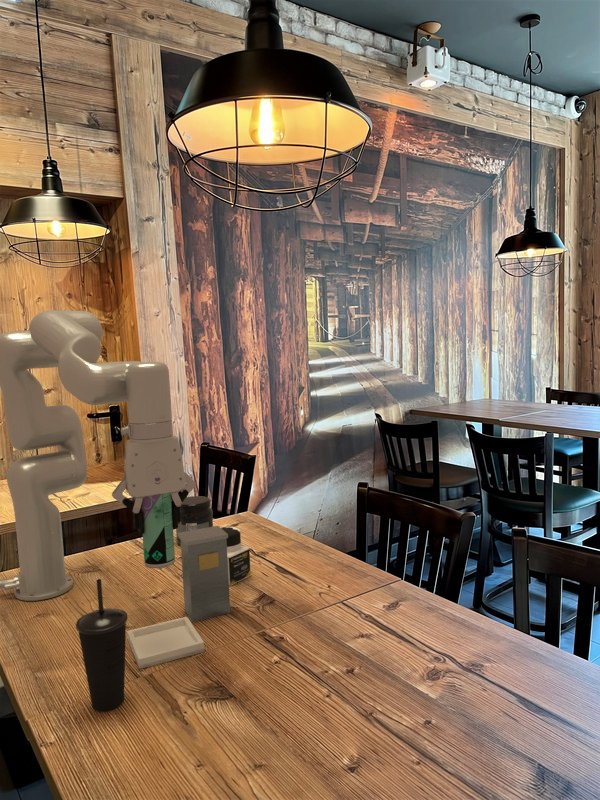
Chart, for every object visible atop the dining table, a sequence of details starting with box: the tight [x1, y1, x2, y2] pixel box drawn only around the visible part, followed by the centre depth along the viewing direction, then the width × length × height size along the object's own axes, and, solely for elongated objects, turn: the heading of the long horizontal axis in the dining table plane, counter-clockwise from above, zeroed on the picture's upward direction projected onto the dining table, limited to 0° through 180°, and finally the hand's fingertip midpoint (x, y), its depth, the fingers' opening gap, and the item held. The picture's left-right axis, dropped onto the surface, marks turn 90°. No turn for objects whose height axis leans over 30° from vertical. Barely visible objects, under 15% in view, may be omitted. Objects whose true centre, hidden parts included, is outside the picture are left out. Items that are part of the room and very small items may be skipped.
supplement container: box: [175, 495, 214, 546], centre depth 167 cm, size 10×10×12 cm
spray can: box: [140, 475, 176, 569], centre depth 107 cm, size 6×6×20 cm
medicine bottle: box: [220, 526, 252, 587], centre depth 140 cm, size 7×7×12 cm
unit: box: [178, 525, 231, 623], centre depth 123 cm, size 9×7×17 cm
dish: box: [126, 616, 205, 670], centre depth 110 cm, size 12×12×2 cm
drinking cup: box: [75, 578, 128, 712], centre depth 92 cm, size 8×8×20 cm
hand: (157, 528), depth 108 cm, fingers closed on spray can, 5 cm apart
